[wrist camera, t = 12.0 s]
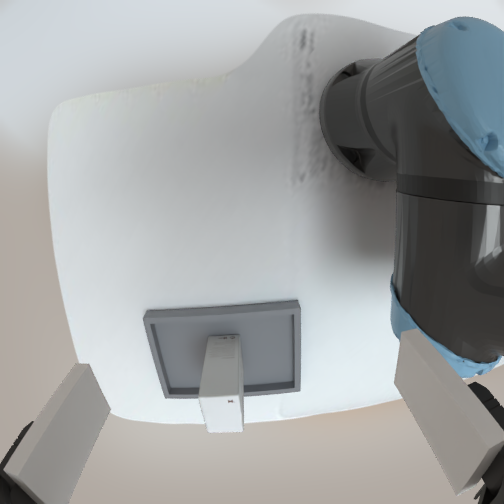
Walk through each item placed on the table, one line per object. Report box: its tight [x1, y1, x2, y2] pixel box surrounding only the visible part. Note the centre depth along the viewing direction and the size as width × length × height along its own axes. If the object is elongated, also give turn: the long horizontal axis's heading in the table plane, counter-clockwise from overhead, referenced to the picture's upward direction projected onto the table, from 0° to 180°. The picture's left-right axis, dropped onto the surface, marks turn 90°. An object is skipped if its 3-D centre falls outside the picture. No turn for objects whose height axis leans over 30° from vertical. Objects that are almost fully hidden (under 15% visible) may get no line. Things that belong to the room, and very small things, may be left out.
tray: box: [143, 300, 301, 399], centre depth 40 cm, size 20×14×2 cm
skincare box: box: [198, 335, 244, 433], centre depth 34 cm, size 6×4×12 cm
